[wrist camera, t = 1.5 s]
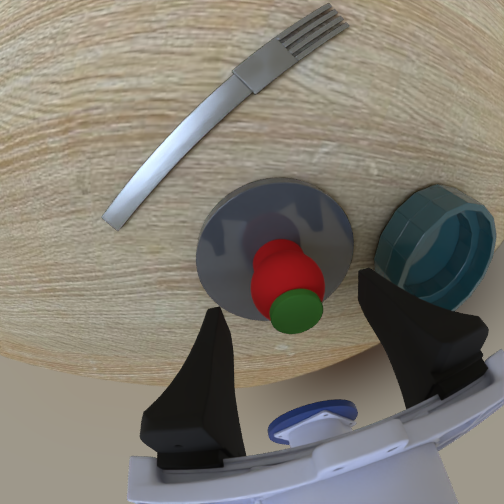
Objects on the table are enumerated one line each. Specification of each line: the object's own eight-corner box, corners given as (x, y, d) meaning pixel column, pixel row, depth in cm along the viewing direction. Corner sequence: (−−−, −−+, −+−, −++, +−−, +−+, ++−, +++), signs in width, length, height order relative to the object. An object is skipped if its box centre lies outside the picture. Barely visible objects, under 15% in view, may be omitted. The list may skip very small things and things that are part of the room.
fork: (122, 230, 16) (120, 234, 16) (101, 212, 15) (98, 215, 15) (346, 27, 11) (350, 26, 11) (325, 4, 11) (328, 2, 10)
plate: (371, 251, 19) (377, 258, 18) (267, 331, 22) (269, 340, 21) (285, 142, 15) (290, 144, 14) (164, 255, 17) (162, 263, 17)
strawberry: (322, 260, 18) (350, 311, 14) (274, 297, 19) (289, 353, 15) (283, 219, 16) (307, 266, 12) (232, 262, 17) (238, 319, 13)
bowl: (473, 242, 20) (500, 265, 17) (397, 311, 23) (418, 342, 20) (445, 156, 16) (484, 173, 12) (347, 243, 19) (373, 276, 15)
